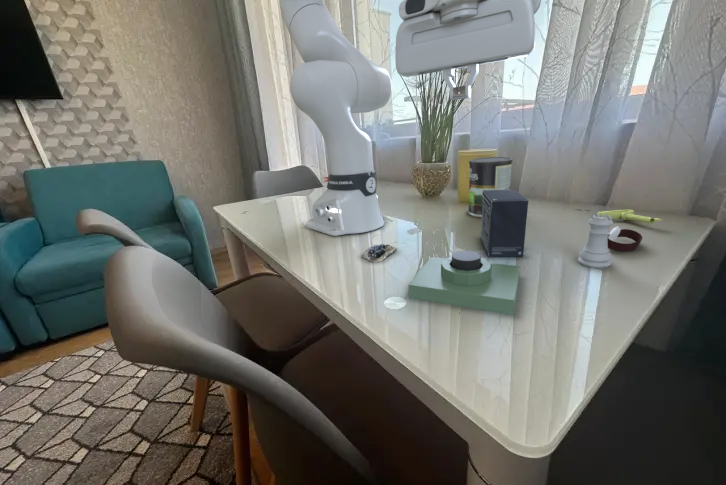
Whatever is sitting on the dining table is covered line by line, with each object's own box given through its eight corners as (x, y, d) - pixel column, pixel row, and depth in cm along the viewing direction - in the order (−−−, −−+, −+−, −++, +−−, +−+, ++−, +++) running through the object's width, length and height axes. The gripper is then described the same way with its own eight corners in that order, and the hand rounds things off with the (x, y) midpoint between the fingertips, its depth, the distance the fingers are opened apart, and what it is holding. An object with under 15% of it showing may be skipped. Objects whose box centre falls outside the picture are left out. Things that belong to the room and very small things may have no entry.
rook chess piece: (571, 262, 53) (577, 215, 51) (589, 256, 55) (596, 211, 52) (599, 271, 50) (607, 221, 47) (617, 265, 51) (626, 216, 48)
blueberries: (399, 247, 67) (398, 239, 67) (393, 263, 60) (392, 253, 59) (368, 247, 69) (367, 239, 68) (358, 262, 62) (357, 253, 61)
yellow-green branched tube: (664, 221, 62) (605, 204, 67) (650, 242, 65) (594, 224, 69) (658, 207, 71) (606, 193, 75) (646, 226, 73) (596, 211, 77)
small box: (526, 257, 57) (531, 199, 53) (487, 257, 58) (489, 201, 55) (512, 238, 67) (516, 187, 63) (479, 238, 68) (481, 189, 65)
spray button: (448, 270, 46) (448, 259, 46) (455, 260, 50) (455, 249, 49) (477, 273, 45) (478, 262, 44) (482, 262, 48) (482, 252, 47)
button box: (408, 298, 47) (407, 273, 46) (430, 268, 56) (430, 247, 55) (513, 315, 41) (515, 287, 39) (519, 279, 50) (521, 255, 48)
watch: (618, 239, 61) (621, 220, 60) (648, 245, 57) (652, 226, 56) (594, 248, 58) (597, 229, 57) (625, 256, 54) (629, 235, 53)
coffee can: (472, 219, 82) (474, 162, 77) (464, 209, 92) (465, 159, 87) (515, 216, 81) (518, 159, 76) (502, 207, 90) (505, 155, 86)
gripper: (542, -19, 44) (534, 90, 49) (403, 18, 54) (407, 107, 58) (542, -37, 39) (533, 88, 44) (388, 7, 49) (394, 106, 53)
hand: (460, 99), depth 51 cm, fingers closed
